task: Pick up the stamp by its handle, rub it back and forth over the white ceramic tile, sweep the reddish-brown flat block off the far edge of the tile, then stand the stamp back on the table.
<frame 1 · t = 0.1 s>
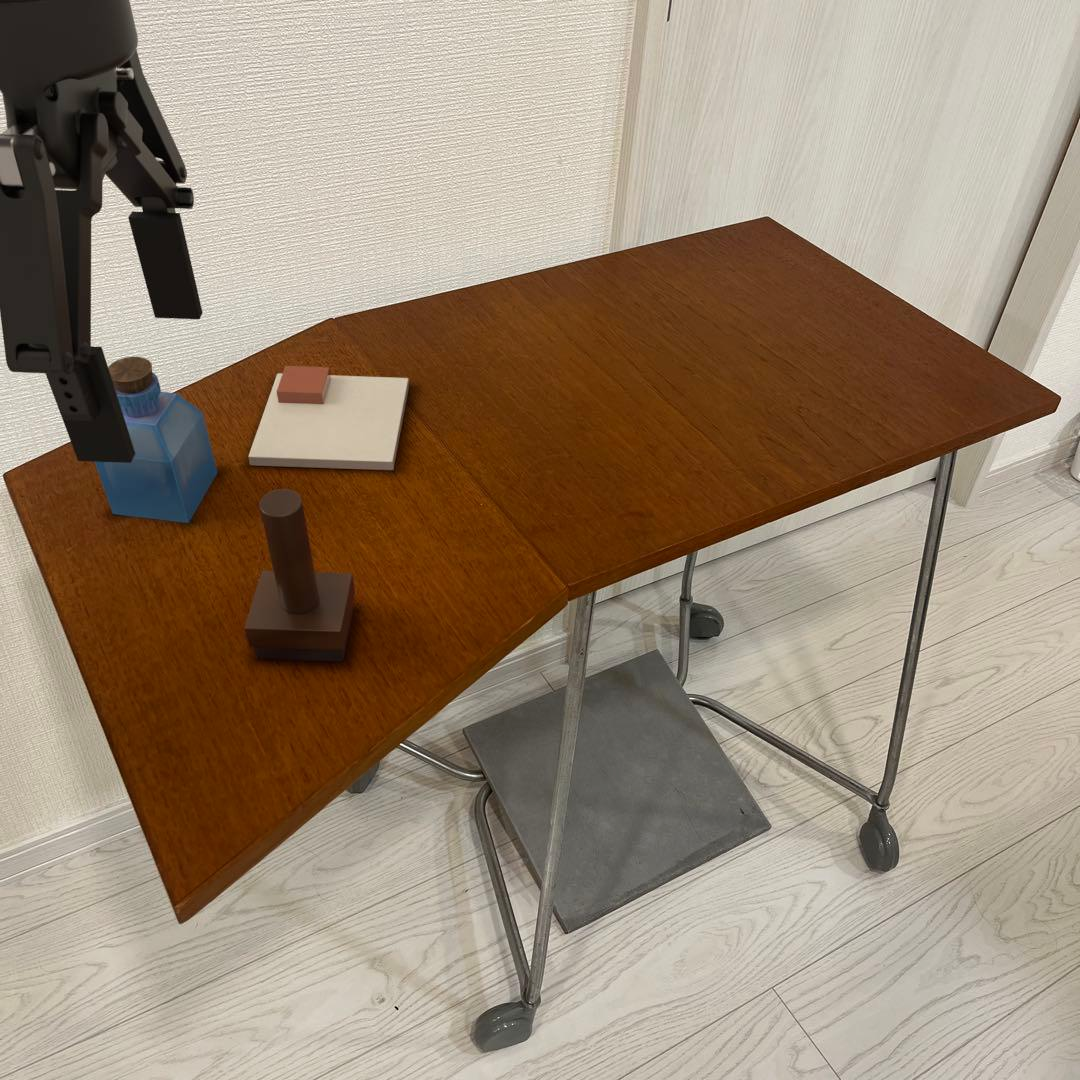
hand: (146, 381, 57), 21 cm above the table, tool pointing down, fingers open, 13 cm apart
reddish-brown flat block: (305, 390, 91), point 1 cm above the table, touching tile
tile: (333, 424, 89), on the table
perfume bottle: (167, 494, 82), on the table
stamp: (306, 633, 72), on the table
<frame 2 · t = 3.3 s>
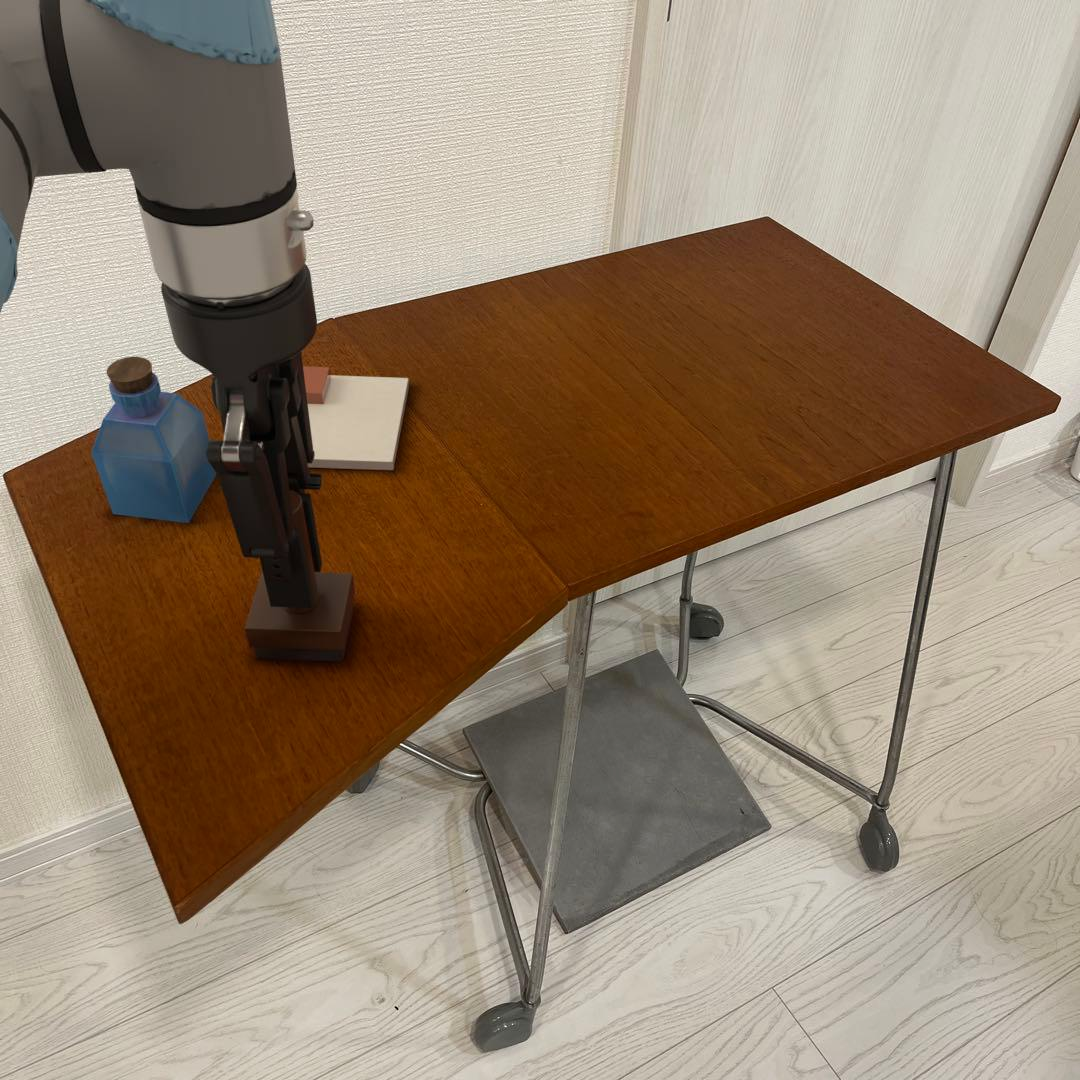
hand: (296, 584, 68), 5 cm above the table, tool pointing down, fingers closed on stamp, 3 cm apart
stamp: (306, 633, 72), on the table, touching gripper
everything else where it was.
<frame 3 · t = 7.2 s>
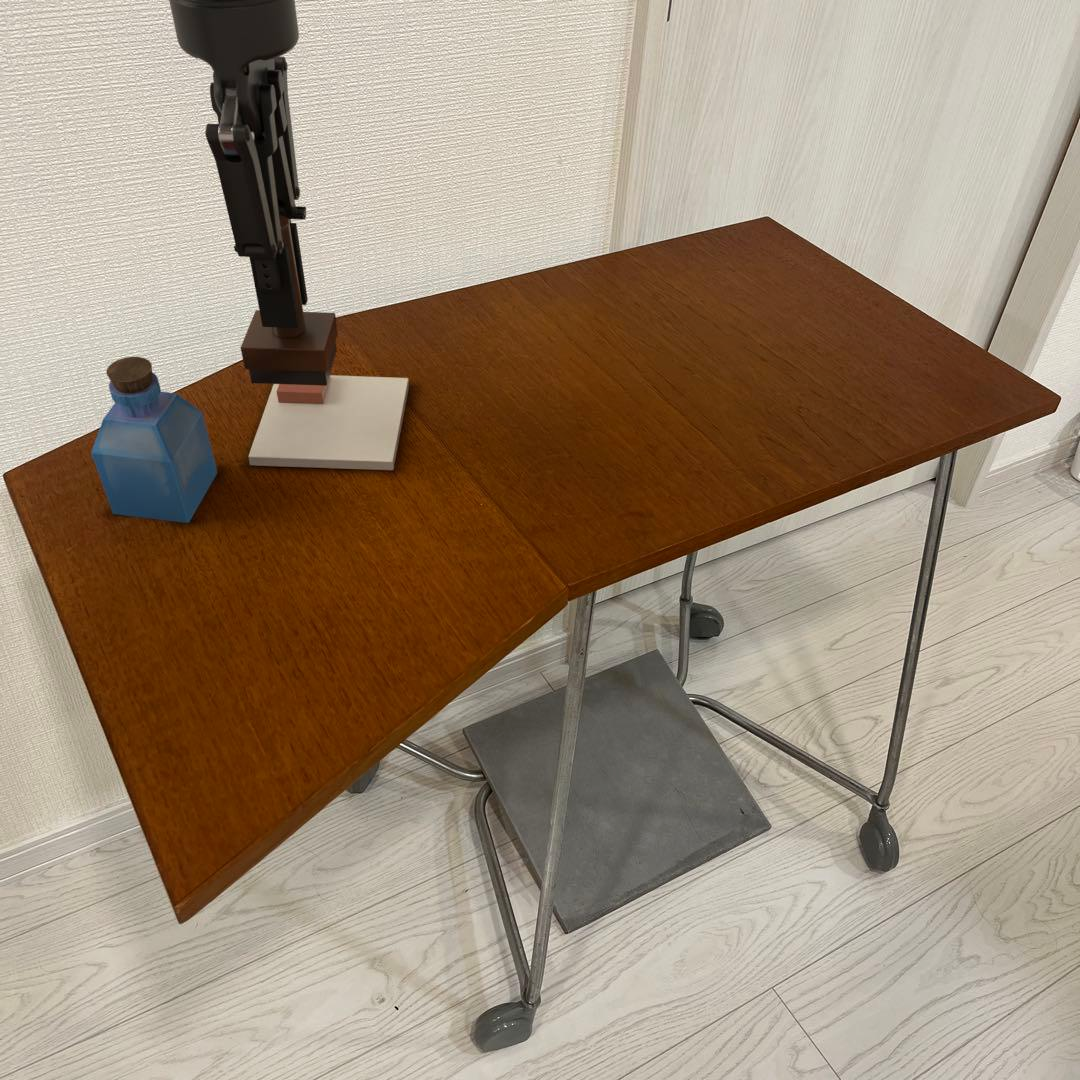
hand: (285, 312, 78), 13 cm above the table, tool pointing down, fingers closed on stamp, 3 cm apart
stamp: (295, 366, 82), point 8 cm above the table, touching gripper
everything else where it was.
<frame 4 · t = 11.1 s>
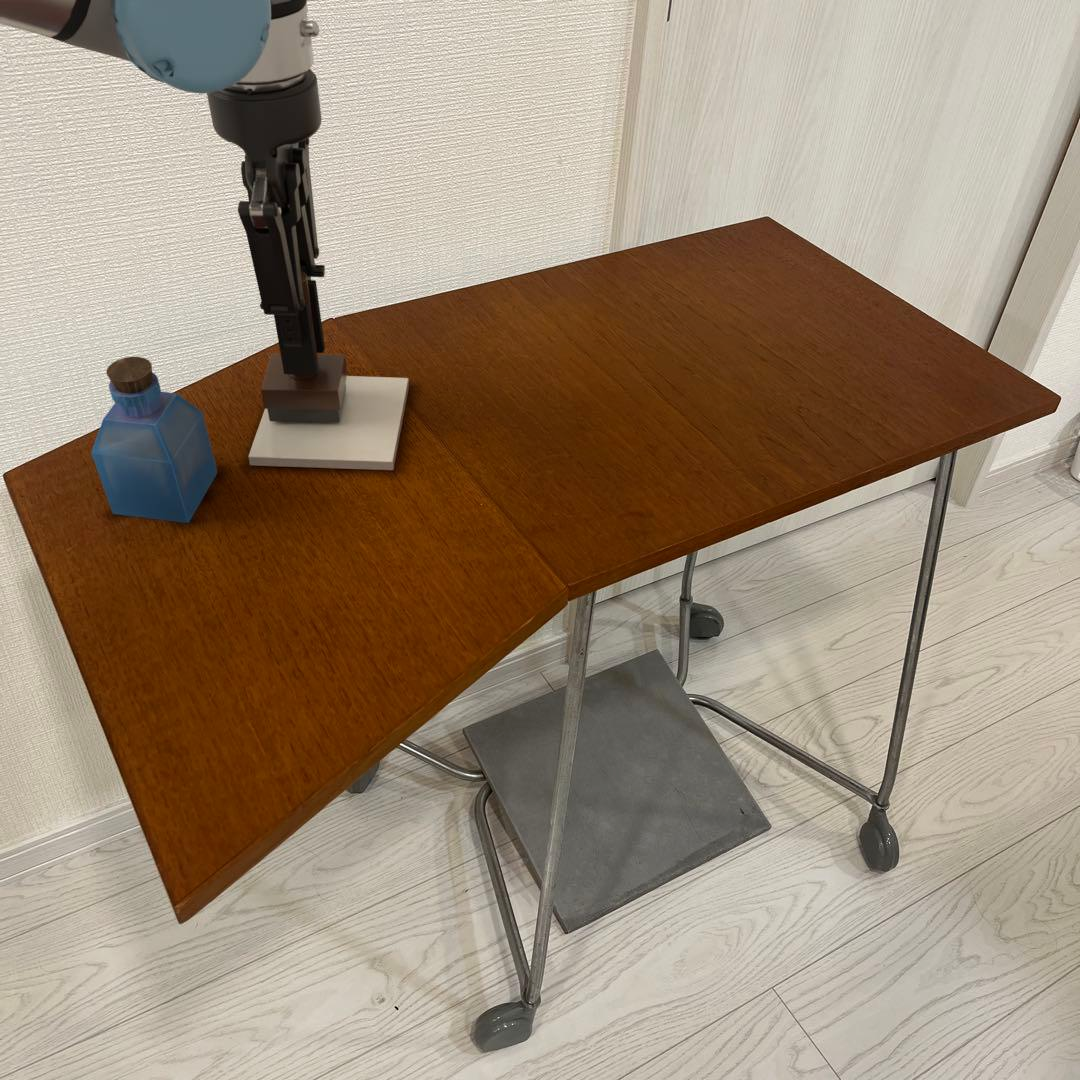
hand: (304, 360, 85), 6 cm above the table, tool pointing down, fingers closed on stamp, 3 cm apart
reddish-brown flat block: (306, 377, 92), point 1 cm above the table, touching tile
stamp: (308, 404, 89), point 1 cm above the table, touching gripper
everything else where it was.
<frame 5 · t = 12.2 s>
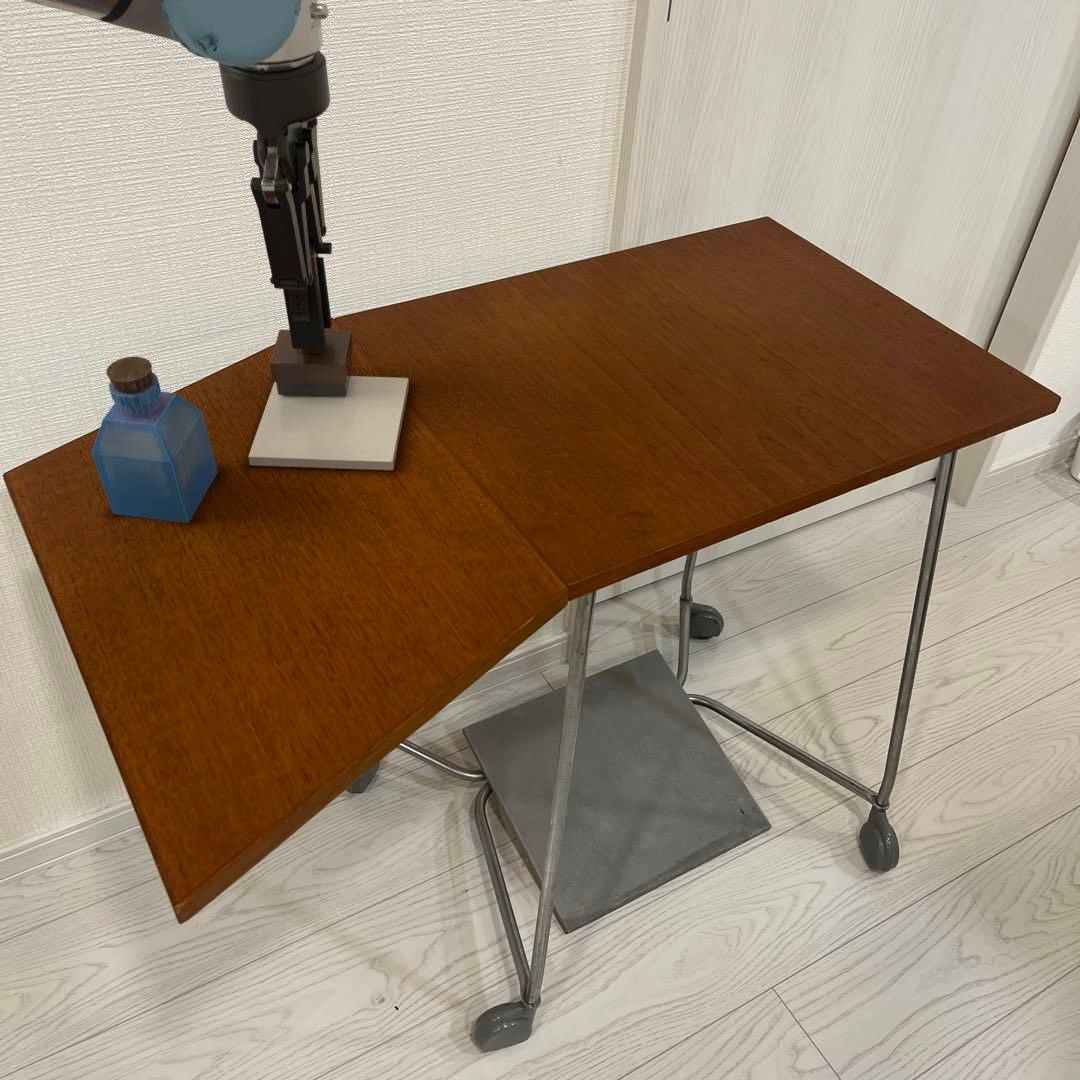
hand: (312, 335, 88), 6 cm above the table, tool pointing down, fingers closed on stamp, 3 cm apart
reddish-brown flat block: (314, 366, 95), on the table
stamp: (315, 379, 92), point 1 cm above the table, touching gripper
everything else where it was.
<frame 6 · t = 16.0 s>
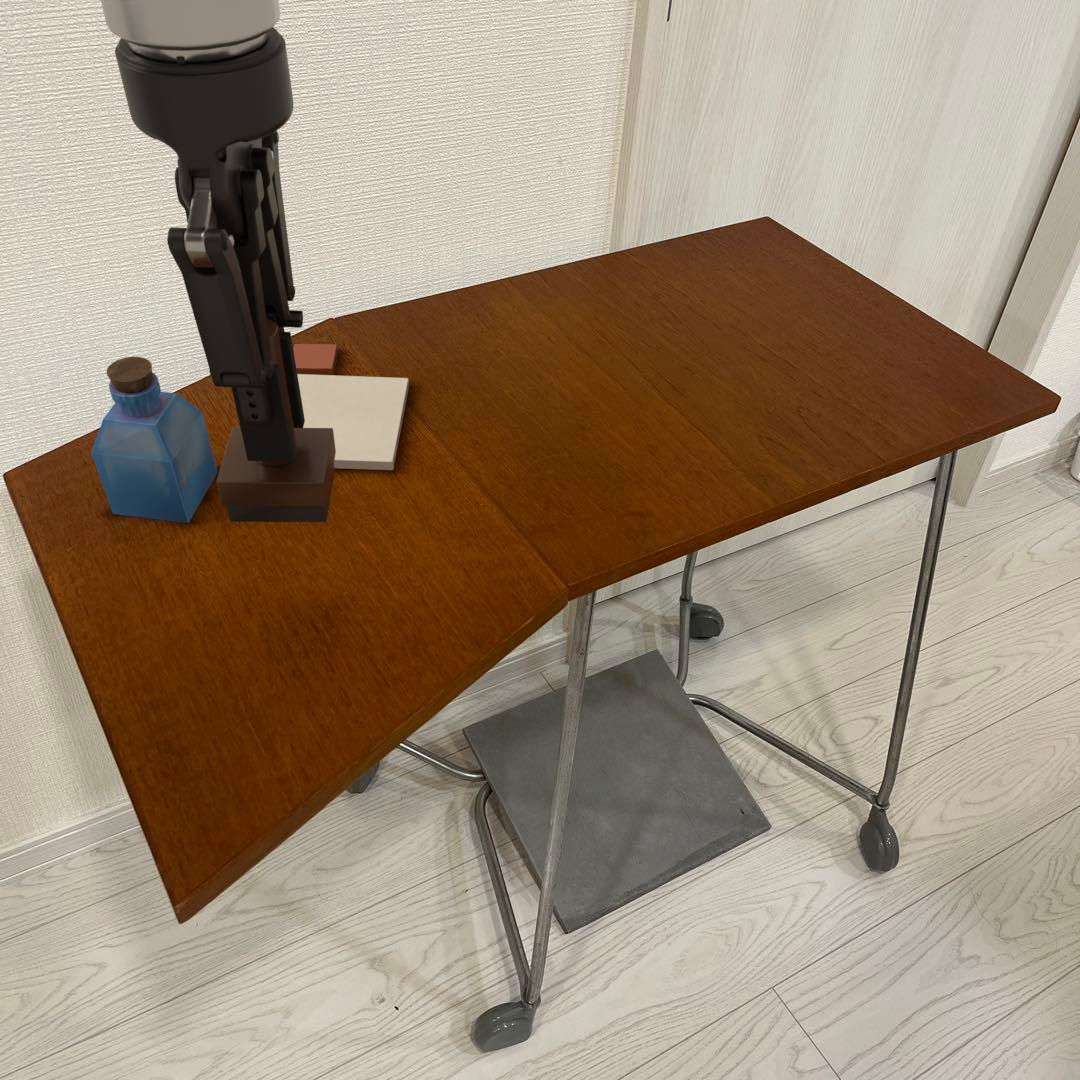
hand: (276, 439, 62), 16 cm above the table, tool pointing down, fingers closed on stamp, 3 cm apart
stamp: (284, 496, 65), point 11 cm above the table, touching gripper
everything else where it was.
when the fingers open (5 cm above the table, at t = 18.8 s): stamp stays where it is, on the table.
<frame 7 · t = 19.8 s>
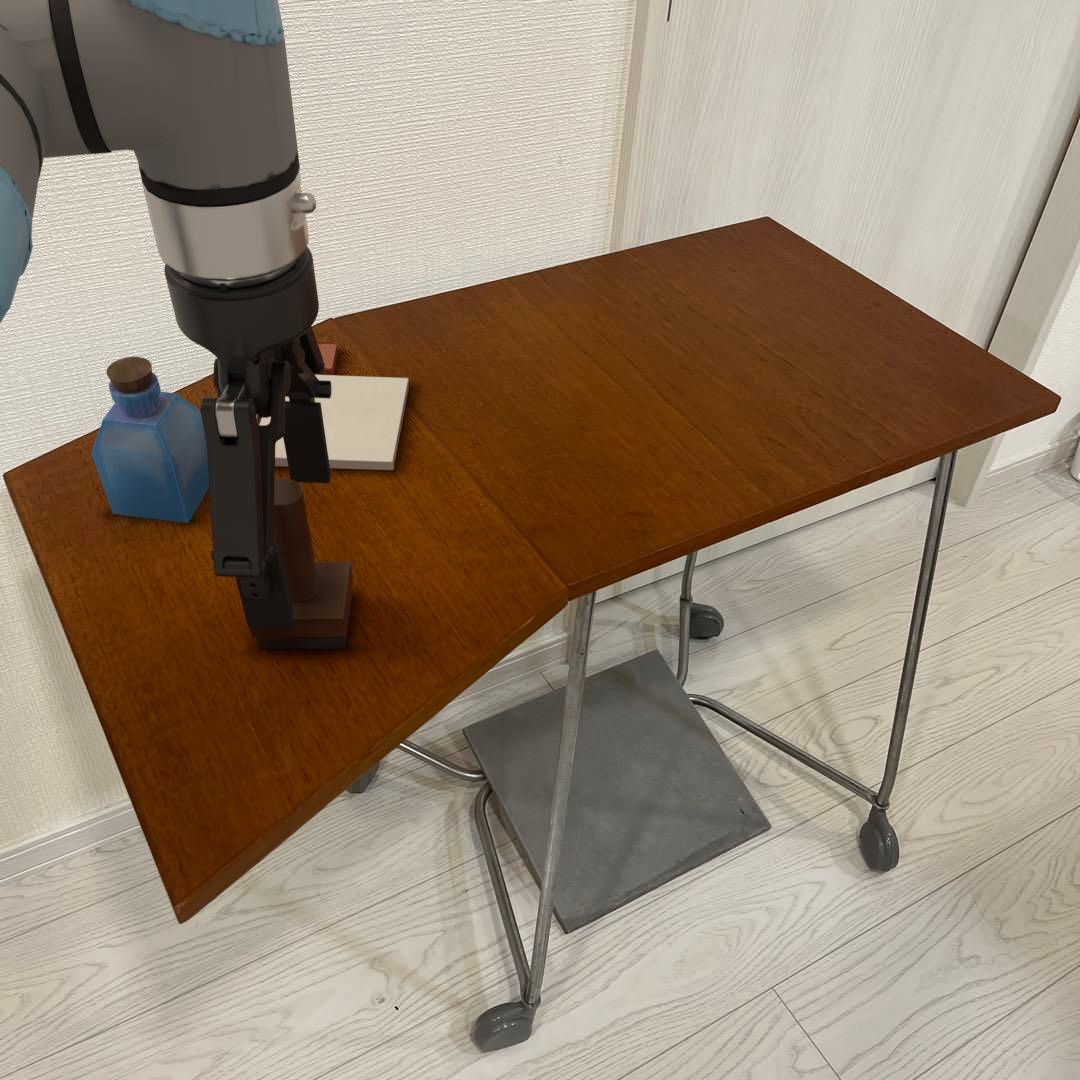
hand: (292, 546, 67), 8 cm above the table, tool pointing down, fingers open, 13 cm apart
stamp: (306, 622, 72), on the table
everything else where it was.
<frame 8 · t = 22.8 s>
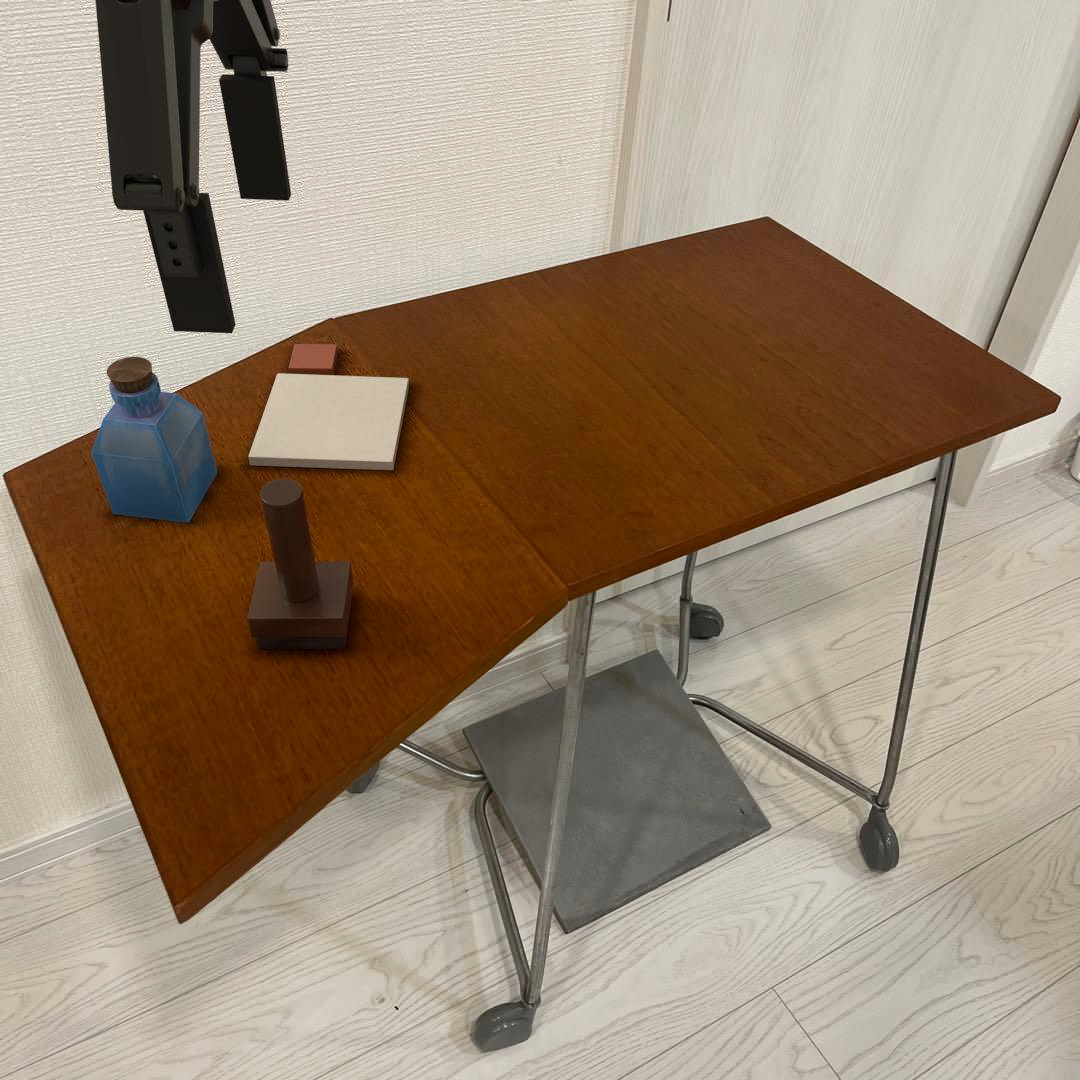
hand: (238, 257, 52), 29 cm above the table, tool pointing down, fingers open, 13 cm apart
nothing on the table moved.
at the end: reddish-brown flat block inside the target area on the table beside the tile (5.9 cm from its centre), on the table; the gripper is holding nothing; stamp tilted 0° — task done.
